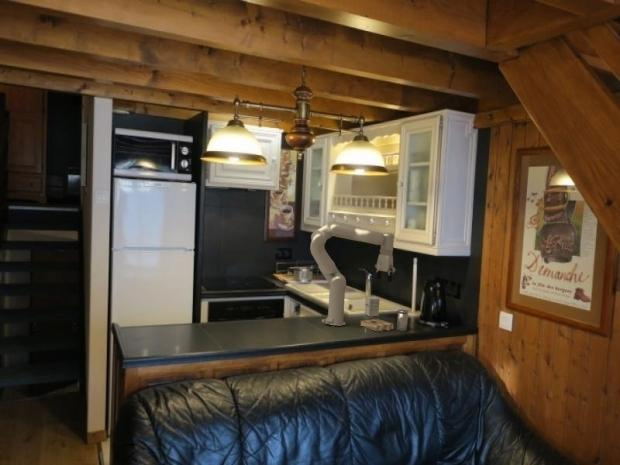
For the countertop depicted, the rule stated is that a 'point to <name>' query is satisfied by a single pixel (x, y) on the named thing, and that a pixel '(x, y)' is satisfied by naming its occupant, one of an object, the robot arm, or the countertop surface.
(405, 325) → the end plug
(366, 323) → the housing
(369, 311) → the supplement box
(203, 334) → the countertop surface
